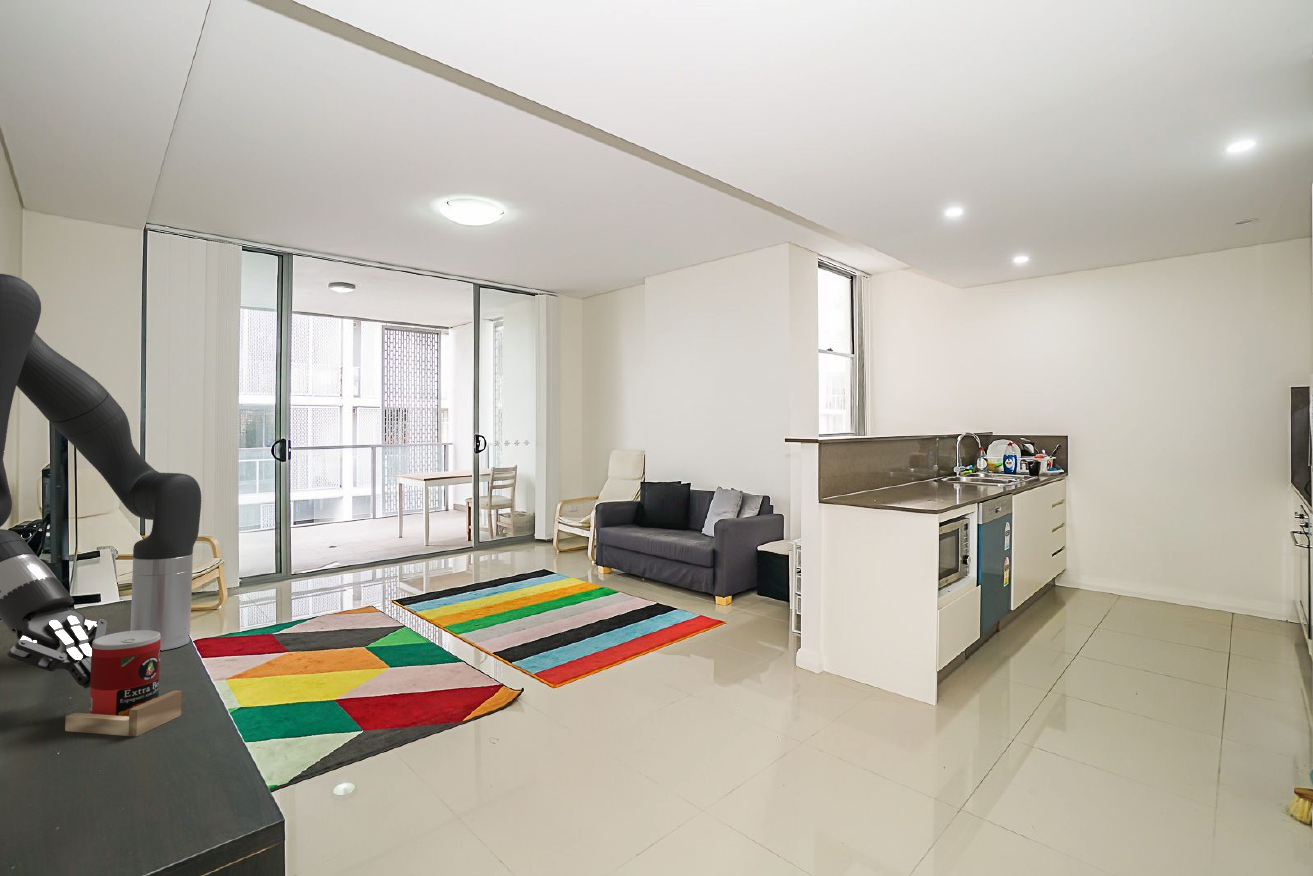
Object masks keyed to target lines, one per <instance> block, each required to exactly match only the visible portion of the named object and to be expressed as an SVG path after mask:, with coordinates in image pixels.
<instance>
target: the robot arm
mask: <svg viewBox="0 0 1313 876" xmlns="http://www.w3.org/2000/svg"><path fill="white" fill-rule="evenodd" d="M41 314H42V301H41V300H40V296H39V295H38V292H37V291H36V289H34V287H33V286H32V285H31V284H29V283H28V282H27V281H25V280H23V279H22V278H20V277H18V276H15V275H12V274H6V273H0V619H1V621H2V622H3V623H4V625H5V626H6V627H7V629H8V630H9V631H10V632H11V633H13V634H16V639H17V640H18V641H17V642H16V643H15V644H14V645H13V646H12V647H11V648H10V649H9V650H8V651H7V652H6V655H7V657H9V658H11V659H14V660H17V661H19V662H22V663H25V664H28V665H31V666H34V667H36V668H38V669H42V670H45V671H48V672H54V671H55V670H56V671H57V670H63V671H67V672H68V673H69V674H70V675H71V677H72V678H73V679H74V680H75V682H76V683H77V684H78V685H79V686H81V687H83V688H84V689H89V688H90V681H91V653H92V644H93V641H94V640H95V639H97V638H99V637H102V636H105V635H106V631H107V625H108V621H107V620H106V619H103V618H99V619H98V620H97V621H93V620H89V619H86V617H85V615H84V614H83V613H81V612H79V611H78V610H76V608H75V600H74V597H72V596H71V593H69V592H68V589H66V588H65V586H64V585H63V584H62V583H61V581H60V580H59V579H58V577H57V576H56V575H55V574H54V573H53V571H52V569H50V567H49V566H48V565H47V564H46V563H45V562H44V561H43V560H42V559H40V558H39V557H38V556H37V555H36V554H37V553H35V551H34V550H33V549H32V548H31V547H30V546H29V544H28V543H27V542H26V540H25V539H24V538H23V537H22V536H21V535H20V534H18V532H16V531H13V530H10V529H3V528H1V527H2V526H4V525H5V523H6V522H7V521H8V519H9V518H10V515H11V514H12V509H13V508H12V507H13V500H12V495H11V494H12V493H11V491H10V485H9V482H8V477H7V472H6V471H7V470H6V468H5V465H4V464H5V463H4V456H5V450H6V444H7V443H6V442H7V434H8V427H9V421H10V414H11V411H12V410H11V409H12V404H13V399H14V395H15V391H16V388H18V389H19V391H20V392H22V393H23V394H24V396H25V397H26V398H28V400H29V401H30V402H31V403H33V405H34V406H35V407H36V408H37V410H39V412H40V413H41V414H42V415H43V416H44V418H45V419H47V421H49V423H50V424H51V425H53V427H54V428H55V429H56V430H57V431H58V432H59V433H60V435H62V436H63V437H64V438H66V440H67V441H68V442H69V443H70V444H71V445H72V446H73V447H74V448H75V449H77V451H78V452H79V454H81V455H82V456H83V458H84V459H86V460H87V462H89V463H90V465H91V466H93V468H95V470H96V471H98V473H99V474H100V475H101V476H102V477H103V479H104V480H105V481H106V483H107V484H108V485H109V487H110V488H111V490H112V491H113V492H114V493H115V495H116V496H117V497H118V499H119V500H120V502H121V503H122V504H123V506H124V507H125V508H126V509H127V510H128V511H129V513H131V514H132V515H134V516H135V517H137V518H140V519H142V520H143V519H144V520H150V521H152V527H151V532H150V533H149V535H148V536H146V537H145V538H143V539H141V540H138V541H136V542H135V543H134V545H133V549H132V571H131V572H132V574H131V575H132V582H131V605H130V606H131V607H130V608H131V611H130V630H129V631H136V630H151V631H157V632H159V633H160V637H161V649H160V650H161V651H167V650H172V649H175V648H179V647H182V646H185V645H187V644H189V643H190V642H191V640H190V639H191V620H192V619H191V618H192V592H193V591H192V588H193V587H192V586H193V564H194V563H193V561H194V560H193V558H194V557H193V556H194V554H193V552H194V547H195V544H196V542H197V539H198V536H199V531H200V520H201V510H202V491H201V488H200V484H199V482H198V481H197V480H196V479H195V478H194V476H191V475H189V474H186V473H182V472H181V473H180V472H159V471H157V470H156V469H154V468H153V466H151V465H150V464H149V463H148V462H147V461H146V460H145V459H144V458H143V457H142V456H141V454H140V453H139V452H138V451H137V450H136V447H135V446H134V444H133V440H132V433H131V427H130V422H129V418H128V416H127V414H126V412H125V410H124V409H123V407H121V405H120V404H119V402H117V401H116V400H115V398H114V397H113V396H112V395H111V393H109V392H108V390H107V389H106V388H105V386H103V385H102V384H101V383H100V382H99V381H98V380H97V379H96V378H94V377H92V376H91V374H89V373H88V372H86V371H85V370H83V369H82V368H80V367H79V366H78V365H76V364H75V363H73V362H72V361H70V360H69V359H67V358H66V357H64V356H63V355H62V354H60V353H59V352H57V351H56V350H54V349H53V348H52V347H50V346H49V345H48V344H47V343H46V342H45V341H44V340H43V339H42V337H40V336H39V335H38V333H37V332H36V330H37V327H38V324H39V321H40V318H41ZM185 628H186V629H185ZM187 632H188V633H187ZM188 634H189V636H190V638H189V636H188ZM46 658H47V659H46ZM48 659H49V660H48Z"/></svg>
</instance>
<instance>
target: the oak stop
mask: <svg viewBox="0 0 1313 876" xmlns="http://www.w3.org/2000/svg"><path fill="white" fill-rule="evenodd" d="M182 695H183V690H178V689H177V690H176V689H175V690H172V691H169V692H166V693H165V694H163V695H159V697H158V698H155V699H153V700H150V701H148V702H146V703H143V704H141V705H139V706H136V707H134V708H132V709H129V717H128V716H115V715H101V714H89V713H88V712H87V713H84V712H72V713H71V714H70V713H69V714H67V715H66V716H65V725H64V729H65V730H64V731H65V732H71V733H72V732H73V733H74V732H75V733H86V734H99V735H101V734H102V735H112V736H124V737H125V736H126V737H135V738H136V737H139V736H141V735H143V734H145V733H147V732H149V731H151V730H154V729H155V728H158V727H160V726H162V725H163V724H166V723H168V722H170V721H172V720H175V719H176V718H178V717H181V716H182V700H183V698H182V697H183V696H182Z"/></svg>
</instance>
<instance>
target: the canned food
mask: <svg viewBox="0 0 1313 876" xmlns="http://www.w3.org/2000/svg"><path fill="white" fill-rule="evenodd" d="M160 649H161V637H160V633H159V632H157V631H151V630H136V631H130V630H128V631H126V630H125V631H120V632H116V633H110V634H105V636H102V637H99V638H97V639H95V640H94V641H93V644H92V653H91V681H90V687H89V688H90V689H89V713H88V714H101V715H115V716H128V717H129V709H132V708H134V707H136V706H139V705H141V704H143V703H146V702H148V701H150V700H153V699H155V698H158V697H160V694H159V693H160V692H159V691H160V690H159V689H160V670H161V651H160Z"/></svg>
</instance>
